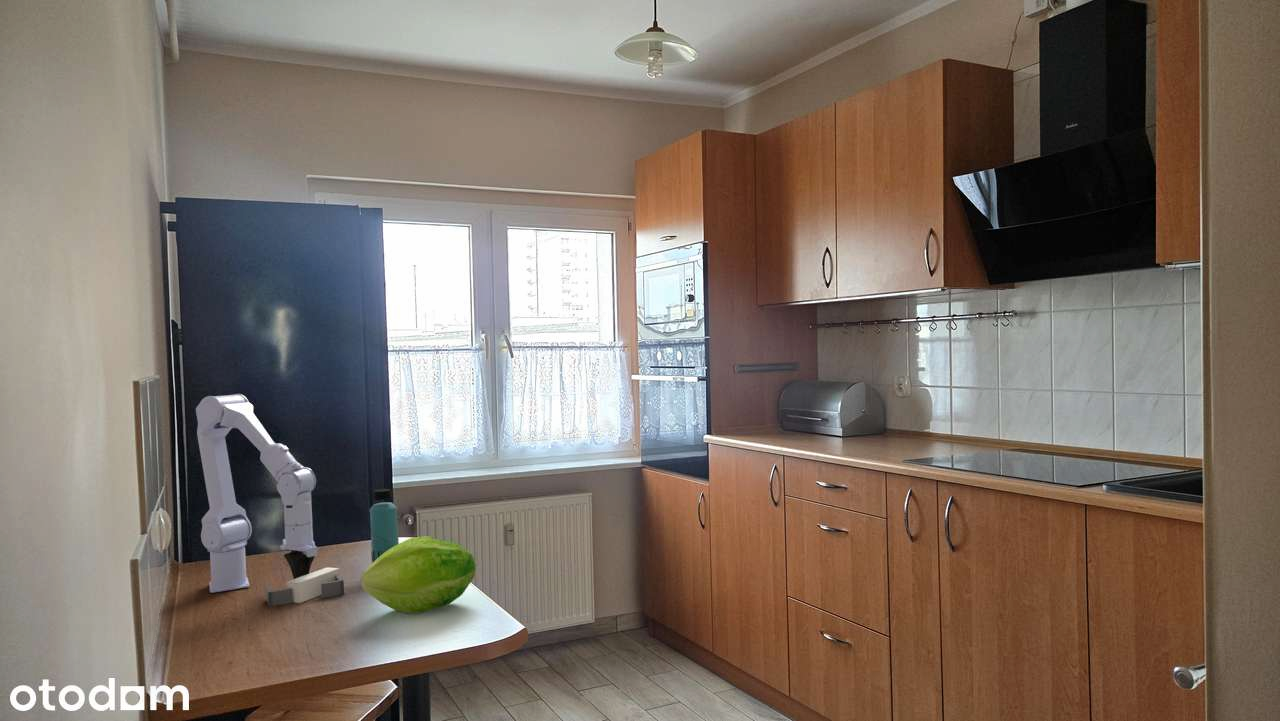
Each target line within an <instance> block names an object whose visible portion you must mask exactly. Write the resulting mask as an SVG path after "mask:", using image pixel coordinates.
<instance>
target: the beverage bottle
mask: <svg viewBox="0 0 1280 721" xmlns="http://www.w3.org/2000/svg"><path fill="white" fill-rule="evenodd" d="M392 498H393V496H392V490H391V489H389V488H382V489H376V490H374V491H373V500H374V501H380V500H381V501H382V500H383V501H384V500H389V499H392ZM397 509H398V507H397V505H395V504H394V503H393V502H378V503H374V504H373V505H372V506H371V507H370V509H369V516H370V521H369V522H370V523H369V525H370V526H369V528H370V540H371V544H370V545H371V550H370V551H371V555H370V556H371V562H372V563H373V562H374V561H375V560H376V559H377V558H379V557H380V556H381V555H382V554H384V553H385V552H386V551H387V550H389V549H391V548H392V547H394V546H396V545H397V544H400V541H399V530H398V529H399V527H398V514H397V513H398V510H397ZM372 563H371V564H372Z"/></svg>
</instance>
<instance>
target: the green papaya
mask: <svg viewBox="0 0 1280 721" xmlns="http://www.w3.org/2000/svg"><path fill="white" fill-rule="evenodd" d="M476 567H477V562H476V560H475V558H474V556H473V554H472V552H471V551H469V550H468V549H466V548H465V547H463V546H462V545H460V544H458V543H457V542H455V541H454V542H453V541H448V540H442V539H437V538H436V537H435V538H434V537H431V536H430V535H421V536H417V537H411V538H408V539H406V540H404V541H402V542H399V544H397V545H396V546H394V547H392V548H391V549H389V550H387V551H386V552H385V553H384V554H382V555H381V556H380V557H379V558H377V559H376V560H375V561H374V562H373V563H371V564H370V565H369V566H368V567H367V569H365V570H364V572H363V573H362V574H361V576H360V585H361V587H362V589H363V591H365V592H366V593H367V594H368V595H369V596H371V597H372V598H374V599H376V600H377V601H378V602H380V603H381V604H382V605H384V606H386V607H388V608H390V609H392V610H394V611H397V612H400V613H405V614H415V613H416V614H417V613H425V612H428V611H431V610H434V609H438V608H440V607H443V606H447V605H450V604H451V603H453V602H454V601H456V600H457V599H459V598H460V597H461V596H462V595H463V594H464V593H465V591H466V590H467V589H468V587H469V585H470V584H471V583H472V581H473V580H474V578H475V575H476V569H477V568H476Z"/></svg>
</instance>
